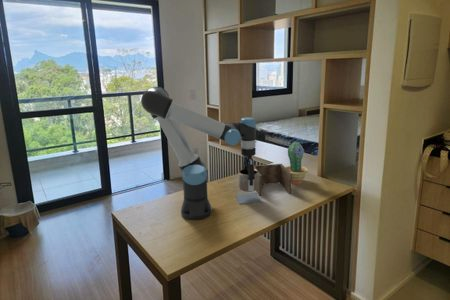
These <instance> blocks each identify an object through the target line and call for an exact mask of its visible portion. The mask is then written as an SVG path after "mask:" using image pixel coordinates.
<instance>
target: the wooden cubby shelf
mask: <svg viewBox="0 0 450 300" xmlns="http://www.w3.org/2000/svg"><path fill="white" fill-rule="evenodd" d="M254 169H256V170H258V172H259V188H258V189H257V190H255V193H257V195H258V197H262V192H263V191H262V188H263V187H262V185H269V184H270V185H271V184H280V185H281V186H282V187H283V188H284V190H285V191H286V192H287V193H288V194H289V195H291V194H292V173H291V172H290V171H289V170H288V169H287V168H285V165H283V164H282V163H275V164H274V163H273V164H256V165H254Z"/></svg>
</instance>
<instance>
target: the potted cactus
mask: <svg viewBox="0 0 450 300" xmlns="http://www.w3.org/2000/svg"><path fill="white" fill-rule="evenodd" d="M304 152H305V149H304V148H303V146H302V145H301V143H300V142H298V141H297V142H295V141H294V142H292V143H291V144H290V145H289V146H288V148H287V156H288V159H289V165H286V166H285V165H284V167H285V168H287V169H288V170H289V171H290V172H291V173H292V184H293V185H300V184H302V183H303V180H304V179H305V177H306V175H307V174H308V172H309V169H308V168H307V167H305V166H304V165H303V166H302V160H303V157H304Z"/></svg>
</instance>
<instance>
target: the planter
mask: <svg viewBox="0 0 450 300" xmlns="http://www.w3.org/2000/svg"><path fill="white" fill-rule="evenodd" d="M254 176H255V179H254V191H248V178H249V176H248V169H243V168H242V169H240V170H238V189H239V190H240V191H243V192H247V193H253V192H256V190H257V189H258V188H259V172H258V170H256V169H254Z"/></svg>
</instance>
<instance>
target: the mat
mask: <svg viewBox="0 0 450 300" xmlns="http://www.w3.org/2000/svg"><path fill="white" fill-rule="evenodd" d="M235 198H236V200H237V203H238V204H239V205H246V204H258V203H260V202H261V203H262V200H261V198H260V196H259V195H258V193H257V192H247V193H238V194H237V193H236V194H235Z"/></svg>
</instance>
